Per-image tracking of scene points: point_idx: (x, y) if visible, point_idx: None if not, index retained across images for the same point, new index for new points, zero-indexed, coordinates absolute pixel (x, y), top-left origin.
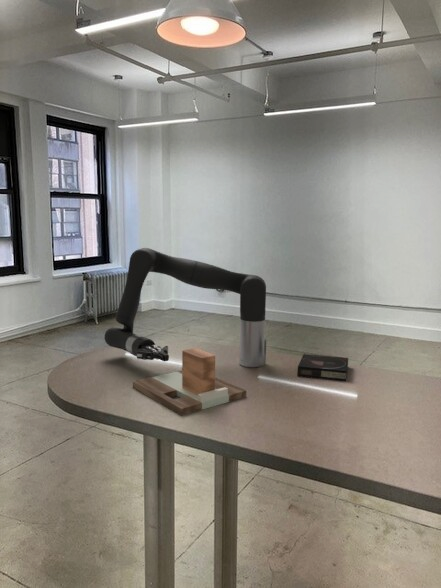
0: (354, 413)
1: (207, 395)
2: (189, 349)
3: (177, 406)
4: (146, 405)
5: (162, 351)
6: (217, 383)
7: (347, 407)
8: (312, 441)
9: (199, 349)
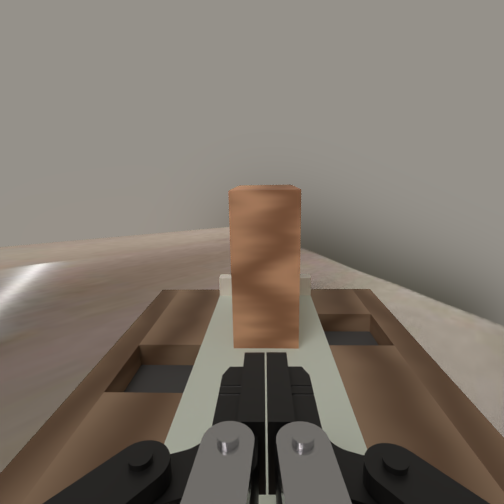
0: (125, 253)
1: None
2: (265, 189)
3: (375, 296)
4: (466, 364)
5: (226, 429)
6: (164, 329)
7: (106, 257)
8: None
9: (231, 189)
